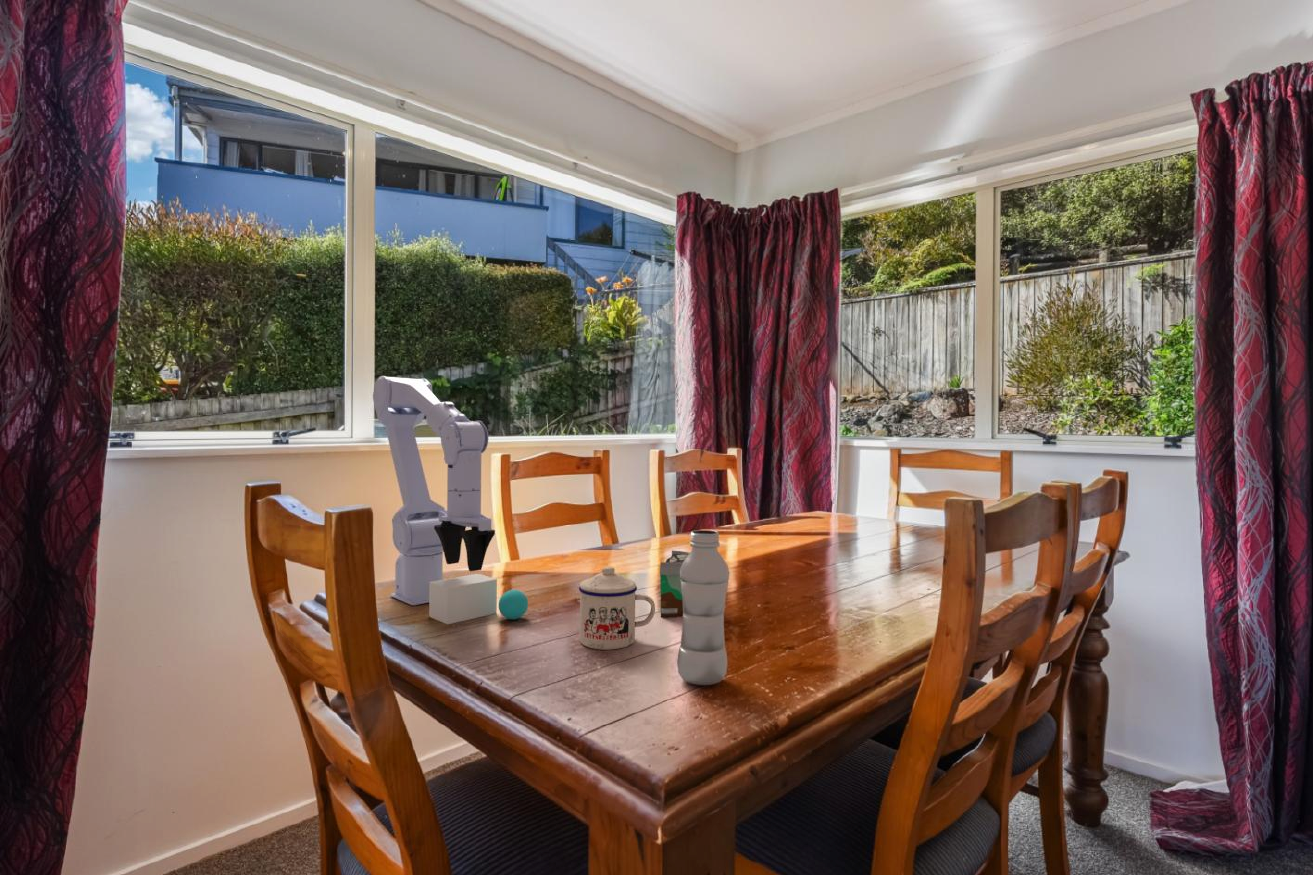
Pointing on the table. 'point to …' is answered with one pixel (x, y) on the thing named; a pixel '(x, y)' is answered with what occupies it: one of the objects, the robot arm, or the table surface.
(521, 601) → the ball
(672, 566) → the food container
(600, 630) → the teacup with lid
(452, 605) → the white block
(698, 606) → the plastic bottle
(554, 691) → the table surface
